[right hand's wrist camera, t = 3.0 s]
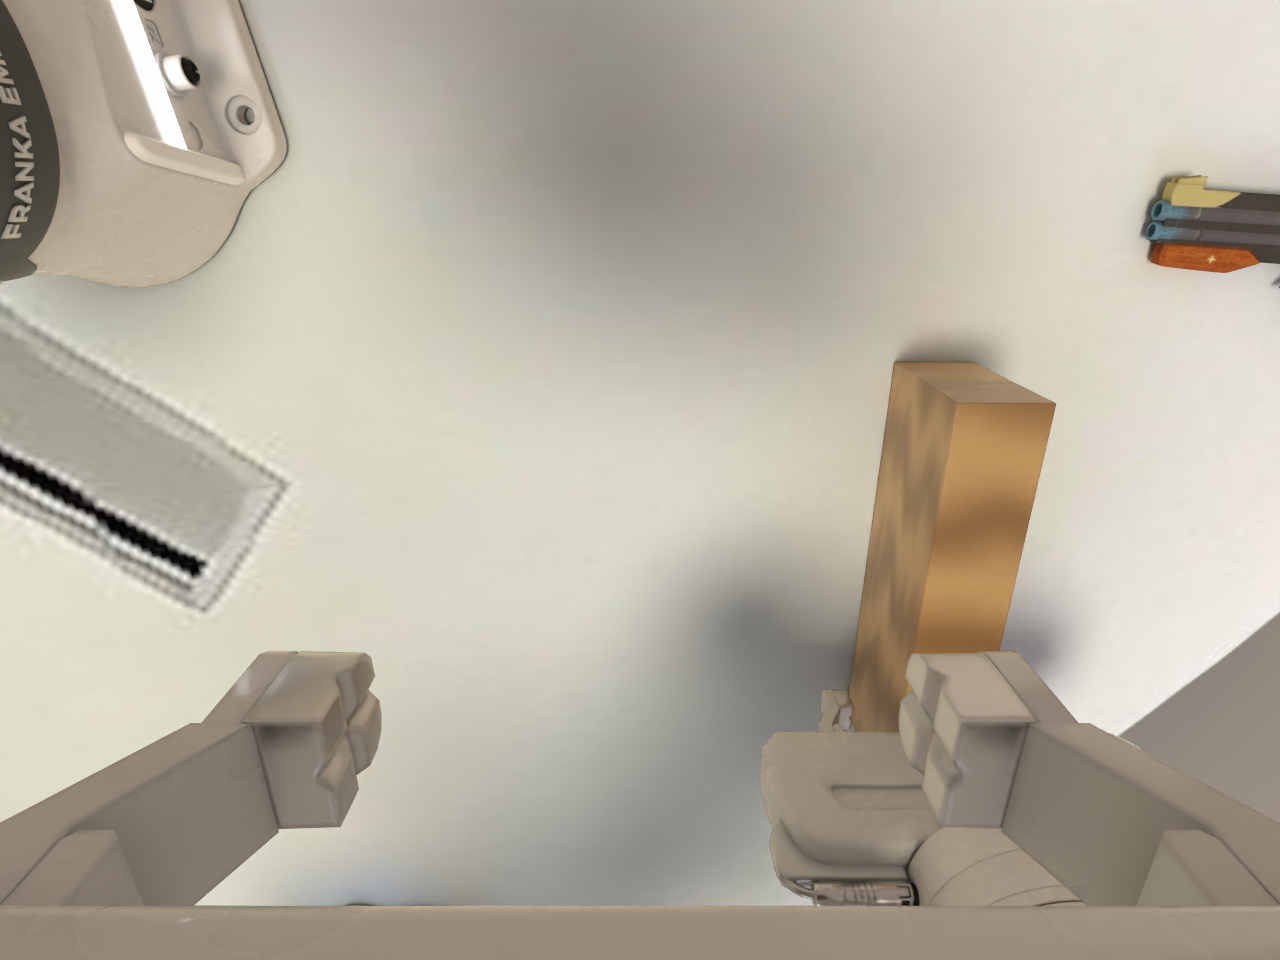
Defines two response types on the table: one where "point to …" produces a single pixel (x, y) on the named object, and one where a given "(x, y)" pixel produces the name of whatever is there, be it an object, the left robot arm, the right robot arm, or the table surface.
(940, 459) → the bar
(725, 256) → the table surface
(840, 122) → the table surface
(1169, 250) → the toy gun
